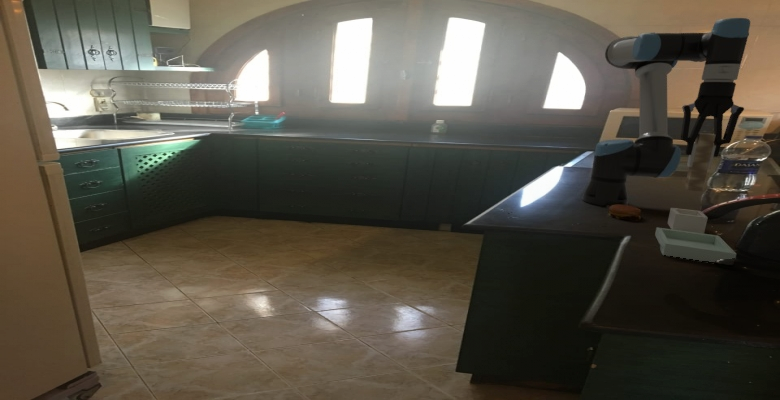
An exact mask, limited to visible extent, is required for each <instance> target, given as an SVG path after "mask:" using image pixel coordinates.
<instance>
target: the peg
mask: <svg viewBox="0 0 780 400" xmlns="http://www.w3.org/2000/svg"><path fill="white" fill-rule="evenodd" d="M715 136H716V135H715V134H714V133H705V132H704V133H703V132H699V134H698V136H697V138H696V140H695V142H694V143H695V144H697V148H696V152H695V157H694V161H693V165H692V167H688V170H687V175H686V179H685V184H684V189H685V190H686V191H695V192H703V189H704V186H705V181H706V177H707V173H708V165H709V161H710V157H711V153H712V149H713V145H714V140H715Z"/></svg>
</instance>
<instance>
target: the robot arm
mask: <svg viewBox="0 0 780 400" xmlns="http://www.w3.org/2000/svg"><path fill="white" fill-rule="evenodd" d="M750 26H751V21H750V19H749V18H745V17H733V18H732V17H731V18H722V19H718V20H716V21H715V22H714V25H713V26H712V29H711V31H710V32H675V33H673V32H672V33H671V32H662V33H660V32H659V33H658V32H657V33H656V32H648V33H640V34H639V35H638V36H633V35H632V36H624V37H623V36H622V37H620V38H617V39H614V40H613V41H611V42H610V43H609V44H608V45H607V47H606V49H605V51H604V52H605V53H604V54H605V55H604V56H605V60H606V62H607V63H608V64H609V65H611V66H612V67H615V68H618V69H623V70H624V69H625V70H634V75H635V77H636V78H638V79H639V114H638V115H639V121H638V123H639V125H638V127H639V132H638V133H639V136H638V138H636V139H635V141H634V140H632V139H628V138H626V139H622V138H619V139H606V140H605V139H604V140H602V141H599V142H598V143H597V144H596V145H595V150H594V153H593V163H592V169H591V175H590V181H589V182H588V184H587V185H586V188H585V189H584V192H583V194H582V198H581V199H582V201H584V202H585V203H588V204H591V205H595V206H596V205H597V206H601V207H606V206H607V205H610V206H612V205H617V204H620V205H628V203H629V195H628V188H627V185H626V184H627V178H628V177H646V178H654V179H657V178H669V177H671V176H672V175H673V174H674V173H675V172H676V171H677V168H678V167H679V165H680V162H681V159H682V150H681V148H680V146H678V145H676V144H674V138H673V137H671V136H670V134H669V133H668V74H670V72H671V71H673V69H674V68H675V67H676V65H677V63H678V62H680V61H682V62H685V61H686V62H688V61H689V62H693V63H694V62H695V63H697V62H699V63H702V62H704V68H703V71H702V76H701V80H702V82H701V83H700V85H699V89H698V94H697V97H696V99H695V100H694V102H693V103H690V104H684V105H682V111H683V119H682V127H681V132H680V133H681V134H680V140H681V141H683V142H686V149H685V155H687V156H688V159H687V164H686V167H688V168H689V167H692V165H693V161H694V157H695V152H696V148H697V144H695V140H696V138H697V136H698V134H699V133H700V131H701V129H702V126H703V125H704V123H705V121H706V119H707V117H712V118H713V134H715V135H716V136H715V140H714V144H713V149H712V153H711V157H710V161H709V165H708V169H709V170H710V169H711V168H712V165H713V160H714V158H715V157H716V158H717V157H718V156H719V154H720V153H719V152H720V150H721V149H720V148H721V146H723V145H725V144H730V143H731V141H732V138H733V135H734V132H735V129H736V126H737V124H738V123H737V122H738V120H739V117H740V115H741V114H742V113H743V112H744V110H745V107H744V106H739V105H737V104H734V100H733V97H734V95H735V94H734V93H735V90H736V85H737V84H736V82H734V81H736V80H738V77H739V73H740V68H741V64H742V60H743V58H744V57H743V56H744V54H745V49H746V45H747V41H748V38H749V37H750V32H749V31H750ZM694 109H696V111H697V113H698V115H697V119H696V121H695V123H694V126H693V128H692V130H691V131H690V126H691V117H692V112H694ZM729 110H730V111H729ZM727 111H729V112H730V113H731V114H730V116H729V118H728V121H727V124H726V128H725V131H724V134H723V119H724V114H725V113H726V112H727ZM689 133H690V135H689ZM708 169H707V170H708Z"/></svg>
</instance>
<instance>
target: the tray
mask: <svg viewBox="0 0 780 400" xmlns="http://www.w3.org/2000/svg"><path fill="white" fill-rule="evenodd" d="M654 236H655V238H656V239H657V240H656V241H658V244H657V246H658V248H659V250H660V252H661V254H662V256H664V255H666V256H665V257H670V256H673V257H672V258H676V257H680V258H679V259H683V258H686V259H685V260H689V259H693V260H692V261H695V260H699V261H698V262H702V261H709V262H715V261H717V260H720V259H732V258H735V259H736V258H737V253H736V251H734V250H733V249H732V248H731V247H730V246H729V244H727V243H726V242H725V241H724V239H722V238H721V236H720V235H715V234H707V233H704V234H702V233H695V232H687V231H680V230H672V229H671V228H664V227H663V228H662V227H657V226H656V228H655V232H654Z"/></svg>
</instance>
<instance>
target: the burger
mask: <svg viewBox="0 0 780 400" xmlns="http://www.w3.org/2000/svg"><path fill="white" fill-rule="evenodd" d="M606 214H607V215H606V216H607V218H608V219H609V217H611V218H613V219H618V220H622V221H629V222H630V221H631V222H632V221H635V222H639V221H640V220H641V219H642V217H641V215H640V214H642V210H641V208H638V207H636V206H633V205H620V204H617V205H610V206H609V207H608V212H607V213H606Z"/></svg>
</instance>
